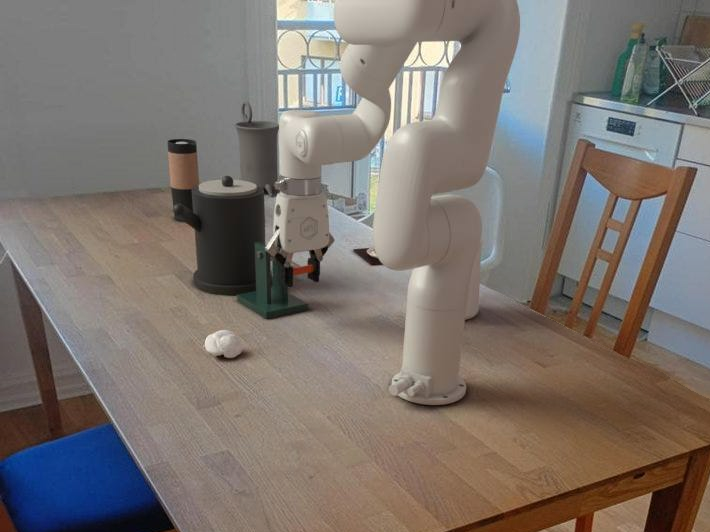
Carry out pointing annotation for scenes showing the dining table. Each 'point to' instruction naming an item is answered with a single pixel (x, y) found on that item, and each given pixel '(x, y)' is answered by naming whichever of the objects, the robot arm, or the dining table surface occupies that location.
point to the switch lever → (297, 267)
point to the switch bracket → (270, 289)
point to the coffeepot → (474, 286)
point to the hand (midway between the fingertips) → (300, 282)
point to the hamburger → (368, 255)
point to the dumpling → (223, 344)
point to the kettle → (225, 234)
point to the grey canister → (258, 150)
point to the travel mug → (183, 171)
